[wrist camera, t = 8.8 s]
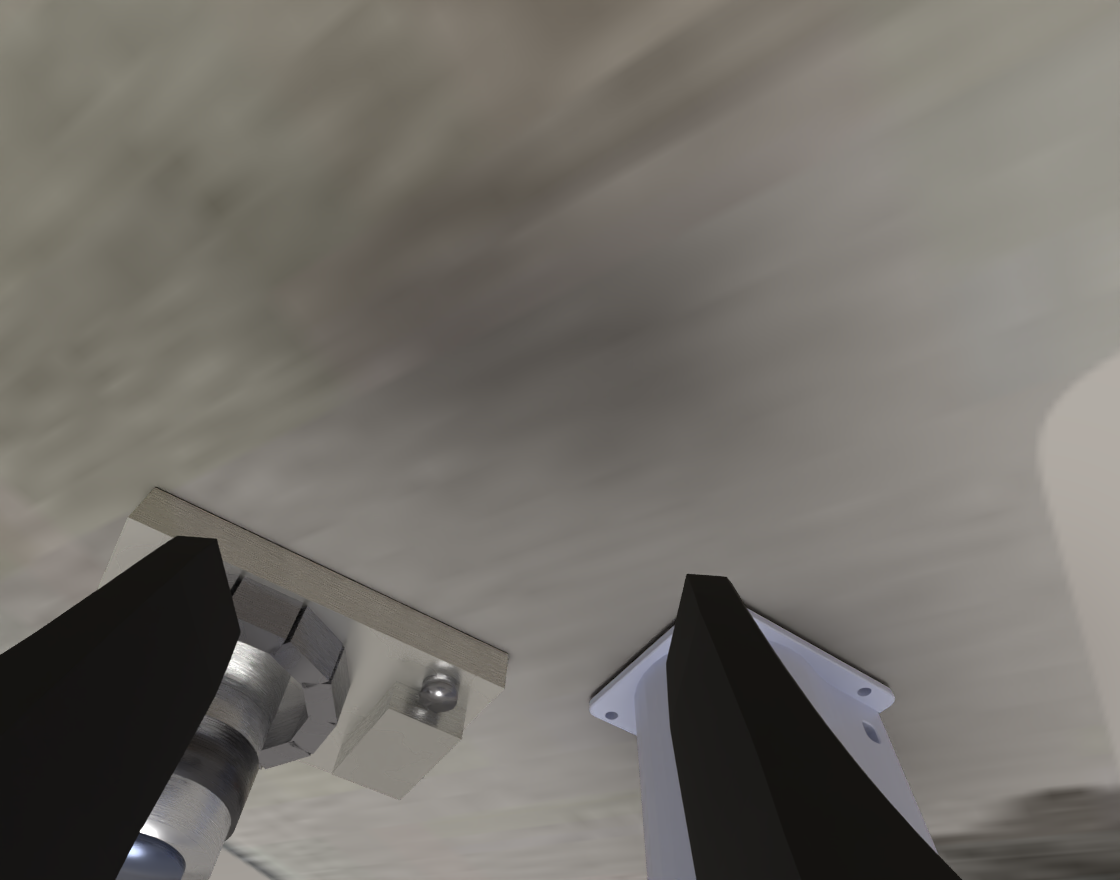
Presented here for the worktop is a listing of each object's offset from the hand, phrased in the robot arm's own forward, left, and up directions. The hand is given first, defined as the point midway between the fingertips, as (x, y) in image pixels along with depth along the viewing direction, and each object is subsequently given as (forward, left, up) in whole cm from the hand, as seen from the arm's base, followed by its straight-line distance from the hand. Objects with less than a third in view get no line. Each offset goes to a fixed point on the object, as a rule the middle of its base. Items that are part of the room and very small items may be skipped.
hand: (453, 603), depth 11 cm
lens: (+2, +16, -9) cm, 18 cm away
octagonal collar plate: (0, +16, -10) cm, 19 cm away
